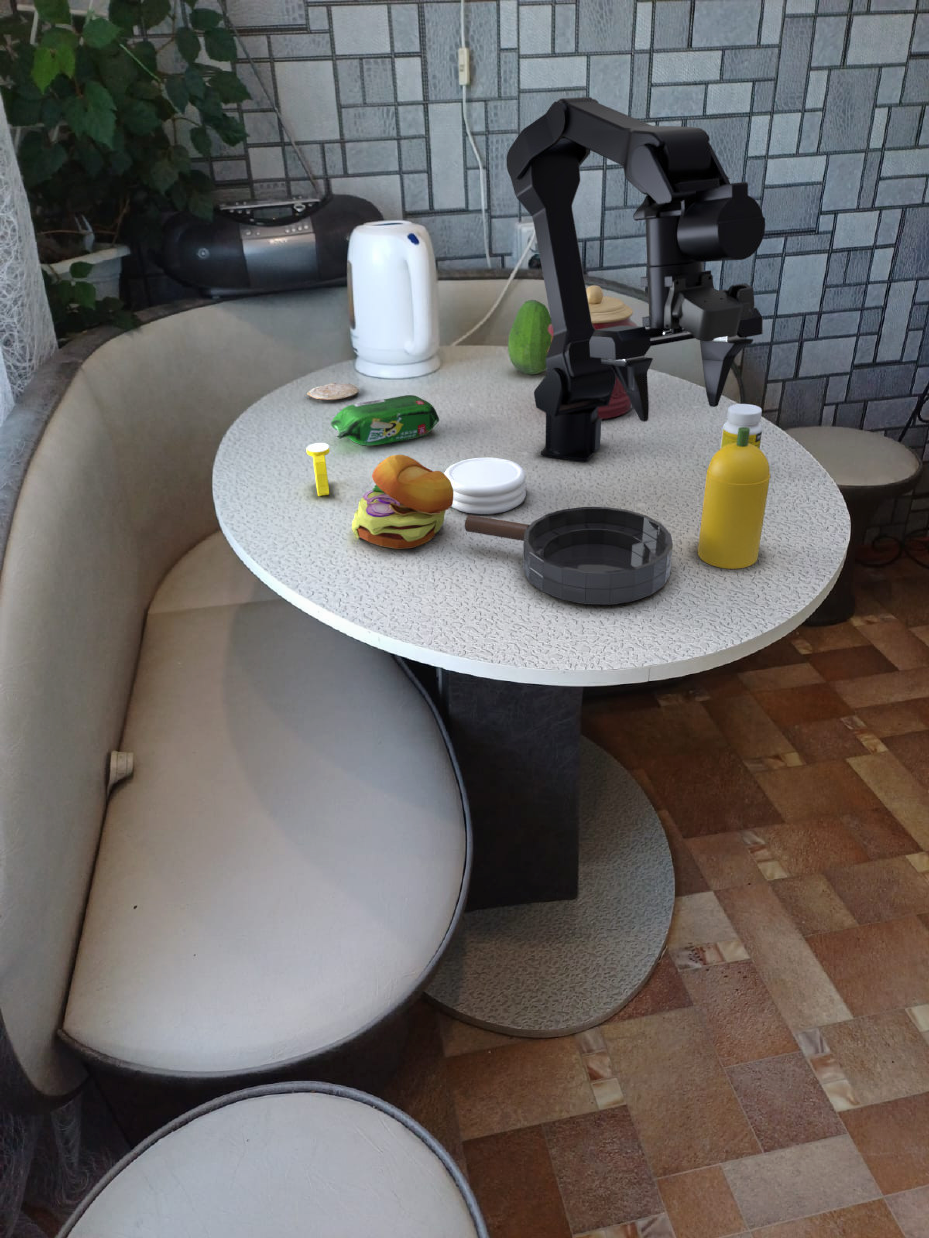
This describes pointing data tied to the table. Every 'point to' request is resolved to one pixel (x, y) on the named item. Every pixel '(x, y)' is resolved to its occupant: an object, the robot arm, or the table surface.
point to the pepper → (734, 504)
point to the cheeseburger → (403, 504)
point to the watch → (320, 466)
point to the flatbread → (333, 391)
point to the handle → (495, 527)
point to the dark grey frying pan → (597, 555)
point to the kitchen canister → (603, 316)
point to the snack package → (386, 420)
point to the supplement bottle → (742, 424)
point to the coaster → (486, 485)
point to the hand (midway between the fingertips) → (679, 413)
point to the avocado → (530, 338)
